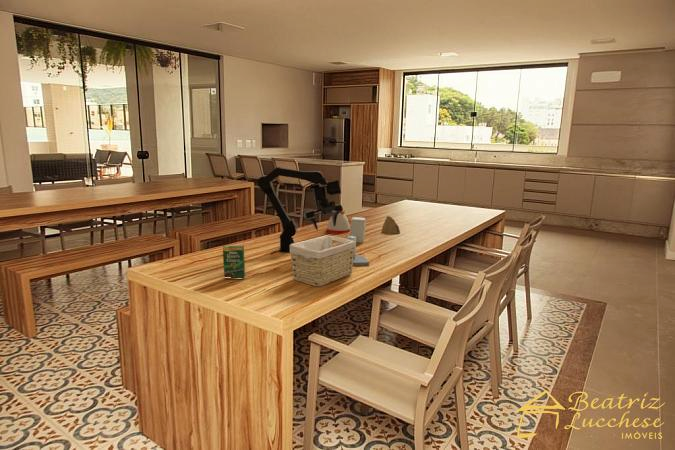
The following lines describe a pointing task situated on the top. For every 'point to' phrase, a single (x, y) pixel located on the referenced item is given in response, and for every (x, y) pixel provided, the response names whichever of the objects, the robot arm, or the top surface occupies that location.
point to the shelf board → (360, 261)
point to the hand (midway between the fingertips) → (325, 228)
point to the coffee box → (234, 261)
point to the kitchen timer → (339, 224)
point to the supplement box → (358, 228)
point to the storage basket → (321, 259)
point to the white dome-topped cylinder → (354, 241)
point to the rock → (390, 226)
